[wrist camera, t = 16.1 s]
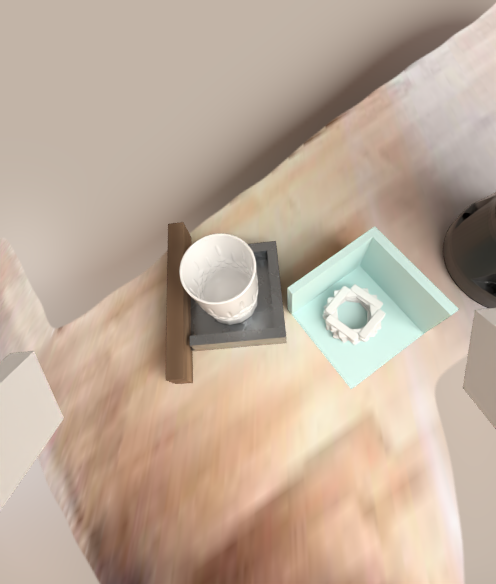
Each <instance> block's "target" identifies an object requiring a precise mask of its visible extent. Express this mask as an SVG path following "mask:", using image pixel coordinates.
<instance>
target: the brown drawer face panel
mask: <svg viewBox="0 0 496 584" xmlns="http://www.w3.org/2000/svg"><path fill="white" fill-rule="evenodd" d="M190 246H191V236H190V234H189V232H188V230H187V229H186V227H185V225H184V223H183V222H181V223H173V224H168V268H167V332H166V381H169V382H172V383H175V384H182V383H193V363H192V351H191V347H190V336H191V296H190V295H189V294H188V293H187V292H186V290H185V289H184V287H183V285H182V283H181V280H180V273H179V271H180V264H181V260H182V258H183V256H184V254H185V252H186V251H187V249H188V248H189V247H190Z"/></svg>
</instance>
